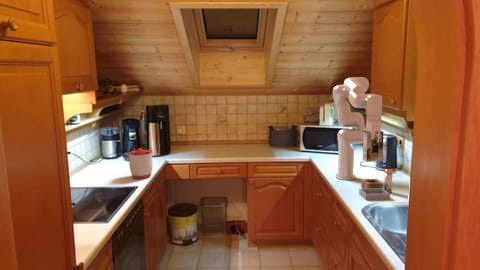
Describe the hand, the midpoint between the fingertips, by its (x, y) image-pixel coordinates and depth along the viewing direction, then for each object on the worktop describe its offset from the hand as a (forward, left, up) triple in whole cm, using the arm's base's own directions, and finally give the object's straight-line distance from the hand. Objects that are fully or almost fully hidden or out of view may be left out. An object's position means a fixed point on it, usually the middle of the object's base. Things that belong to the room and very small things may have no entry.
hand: (372, 151), depth 204 cm
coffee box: (0, 0, -5) cm, 5 cm away
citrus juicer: (-53, -138, -25) cm, 150 cm away
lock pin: (-5, +12, -25) cm, 28 cm away
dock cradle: (+1, +1, -25) cm, 25 cm away
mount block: (-11, +5, -25) cm, 28 cm away
